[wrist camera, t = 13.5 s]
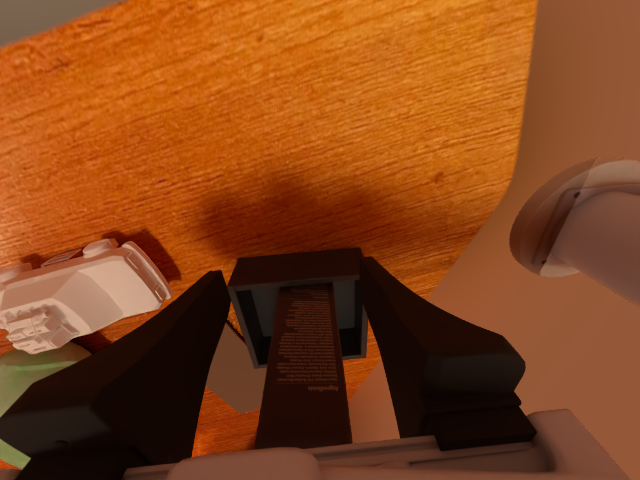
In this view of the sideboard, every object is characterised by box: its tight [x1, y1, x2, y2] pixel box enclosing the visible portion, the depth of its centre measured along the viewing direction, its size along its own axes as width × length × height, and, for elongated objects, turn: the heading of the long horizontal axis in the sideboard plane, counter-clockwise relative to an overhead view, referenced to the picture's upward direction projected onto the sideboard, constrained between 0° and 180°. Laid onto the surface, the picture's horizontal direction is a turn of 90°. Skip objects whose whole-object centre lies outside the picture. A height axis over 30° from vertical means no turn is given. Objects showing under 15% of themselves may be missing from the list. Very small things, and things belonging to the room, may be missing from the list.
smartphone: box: [206, 321, 267, 413], centre depth 26 cm, size 8×1×16 cm
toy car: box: [0, 238, 173, 354], centre depth 16 cm, size 6×12×7 cm, turn 105°
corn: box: [0, 342, 92, 469], centre depth 23 cm, size 8×8×20 cm
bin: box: [227, 248, 368, 369], centre depth 21 cm, size 10×10×4 cm
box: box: [254, 282, 352, 450], centre depth 16 cm, size 6×4×12 cm
